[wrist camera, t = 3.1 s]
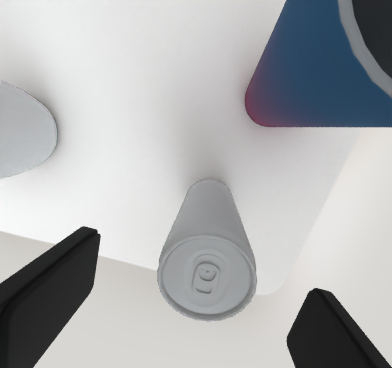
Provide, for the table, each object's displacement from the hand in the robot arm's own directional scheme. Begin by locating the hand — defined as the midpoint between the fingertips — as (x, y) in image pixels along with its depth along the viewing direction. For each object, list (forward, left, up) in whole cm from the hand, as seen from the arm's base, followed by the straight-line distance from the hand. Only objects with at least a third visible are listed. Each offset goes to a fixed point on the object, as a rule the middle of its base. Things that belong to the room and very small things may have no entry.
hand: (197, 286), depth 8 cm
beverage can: (0, 0, -13) cm, 13 cm away
